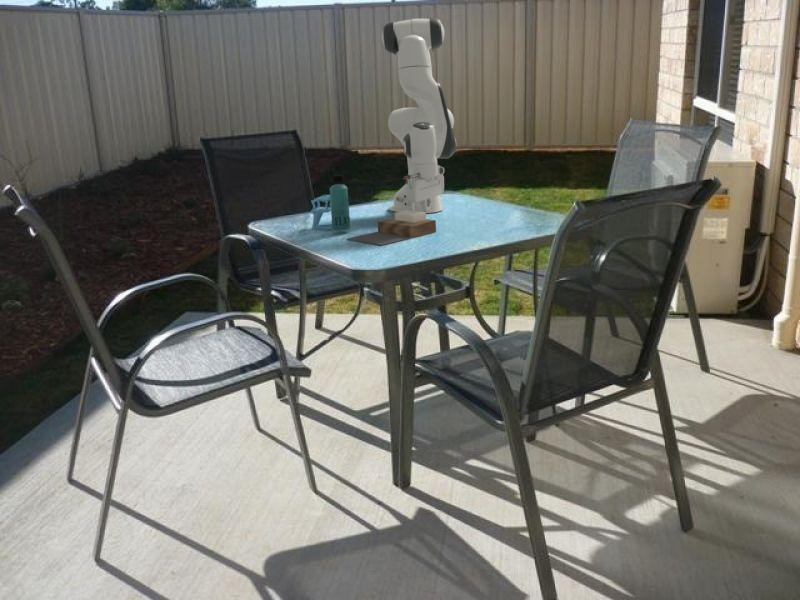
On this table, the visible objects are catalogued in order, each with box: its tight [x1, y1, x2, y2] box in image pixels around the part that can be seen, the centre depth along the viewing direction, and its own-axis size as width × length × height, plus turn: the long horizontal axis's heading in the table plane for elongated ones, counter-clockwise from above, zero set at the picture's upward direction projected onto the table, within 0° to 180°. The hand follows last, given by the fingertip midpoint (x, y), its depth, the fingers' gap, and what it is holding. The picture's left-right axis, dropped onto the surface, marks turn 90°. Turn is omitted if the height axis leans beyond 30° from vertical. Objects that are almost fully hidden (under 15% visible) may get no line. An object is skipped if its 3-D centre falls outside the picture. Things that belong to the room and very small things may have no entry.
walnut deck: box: [376, 216, 437, 239], centre depth 280 cm, size 16×12×4 cm
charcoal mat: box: [346, 231, 412, 247], centre depth 272 cm, size 17×13×1 cm
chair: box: [310, 194, 334, 231], centre depth 293 cm, size 8×8×12 cm
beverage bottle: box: [329, 174, 351, 231], centre depth 283 cm, size 6×7×20 cm
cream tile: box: [394, 210, 427, 223], centre depth 280 cm, size 9×6×2 cm, turn 44°
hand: (426, 211), depth 285 cm, fingers closed
